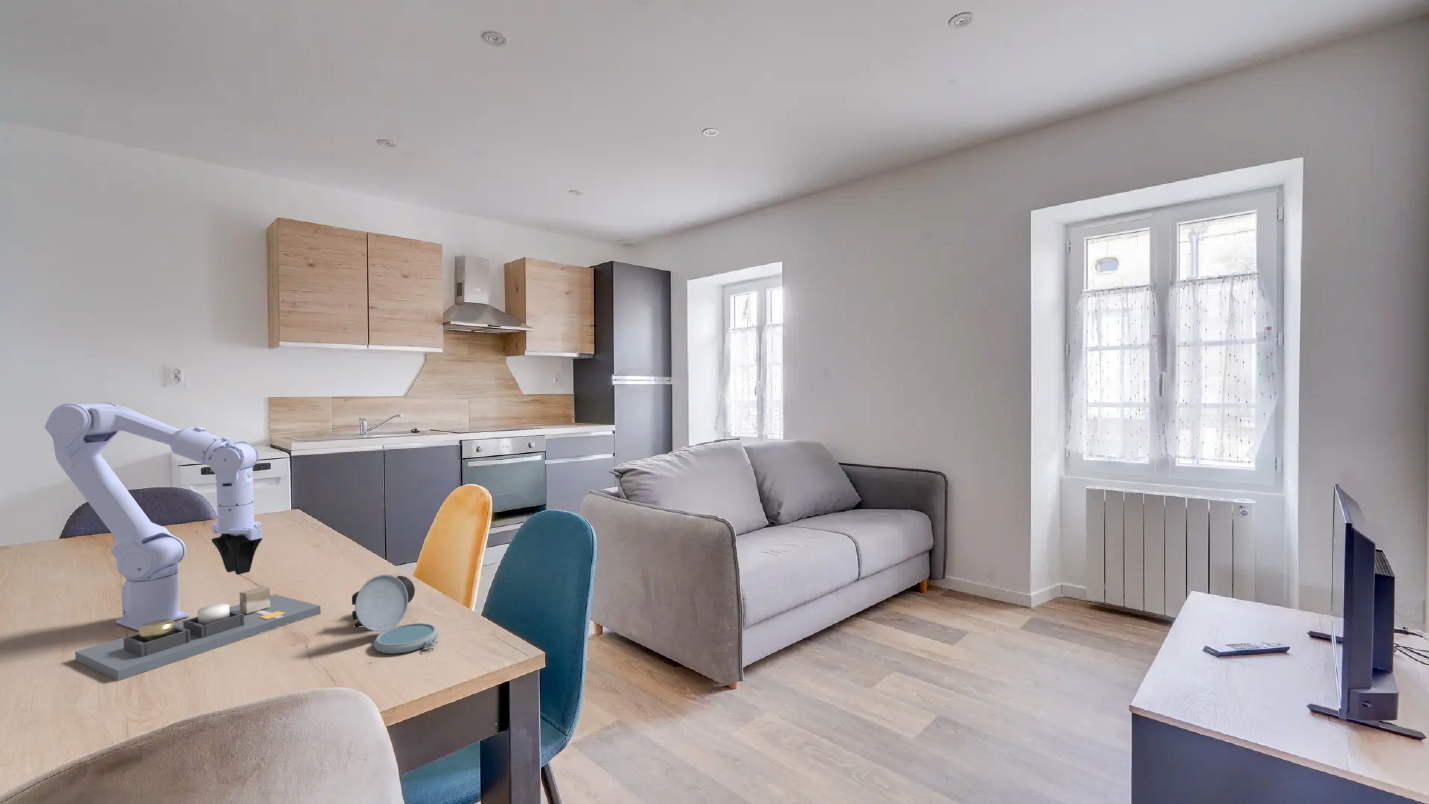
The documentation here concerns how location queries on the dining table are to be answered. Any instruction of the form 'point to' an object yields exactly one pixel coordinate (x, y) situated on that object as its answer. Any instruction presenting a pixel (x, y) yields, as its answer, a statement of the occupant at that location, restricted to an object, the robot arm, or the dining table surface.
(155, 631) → the brass button
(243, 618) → the panel
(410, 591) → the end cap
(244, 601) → the frosted cream block
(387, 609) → the pocket watch
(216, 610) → the white button
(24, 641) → the dining table surface
